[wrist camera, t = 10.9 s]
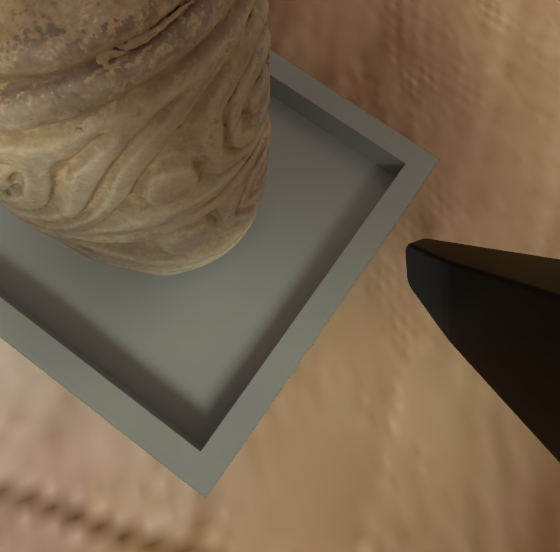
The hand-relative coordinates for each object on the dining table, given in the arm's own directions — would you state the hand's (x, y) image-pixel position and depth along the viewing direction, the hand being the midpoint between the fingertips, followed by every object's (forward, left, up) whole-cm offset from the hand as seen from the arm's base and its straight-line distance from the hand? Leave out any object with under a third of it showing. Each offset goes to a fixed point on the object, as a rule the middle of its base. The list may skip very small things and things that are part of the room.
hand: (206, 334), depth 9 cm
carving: (+3, +5, -8) cm, 10 cm away
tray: (+4, +5, -9) cm, 11 cm away
